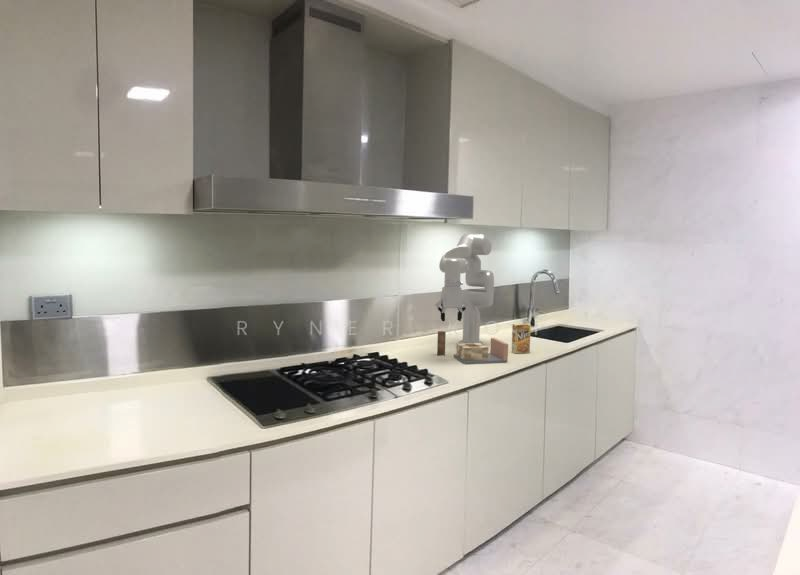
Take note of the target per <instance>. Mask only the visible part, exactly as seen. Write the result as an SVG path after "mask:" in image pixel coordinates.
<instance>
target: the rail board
mask: <svg viewBox="0 0 800 575" xmlns="http://www.w3.org/2000/svg"><path fill="white" fill-rule="evenodd" d="M508 356H509V344H508V343H507V342H504V341H503V340H501V339H498V338H495V337H490V352H488V360H469V361H464V360H463V359H461V358H460V357H458V356H457V355H456V353H455V354H453V358H455V359H456V360H458V361H459V362H461V363H462V364H463V365H478V364H479V365H480V364H482V365H483V364H504V363H505V364H507V363H508V359H509V358H508ZM506 362H507V363H506Z"/></svg>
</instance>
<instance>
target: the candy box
mask: <svg viewBox="0 0 800 575" xmlns="http://www.w3.org/2000/svg"><path fill="white" fill-rule="evenodd" d="M511 325H512V326H511V328H512V329H511V331H512V332H511V333H512V334H511V353H513V354H530V350H531V324H529V323H512V324H511Z"/></svg>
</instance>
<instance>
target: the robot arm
mask: <svg viewBox="0 0 800 575" xmlns="http://www.w3.org/2000/svg"><path fill="white" fill-rule="evenodd" d="M456 244H457V245H456V246H454V247H452V248H450V249H448V250H446V251H445V252H444V253H443V254H442V256H441V258H440V260H439V265H438V267H439V270H440V271H441V273H444V286H443V287H442V288H441V293H440V294H441V295H440V300H439V301H438V302H436V303H435V304H434V306H435V307H436V309H437V311H439V312H440V320H441V322H445V321H446V313H445V312H446V310H447V309H457V311H458V312H457V318H456V319H457V321H458V322H461V321H462V339H461V340H459V343H480V344H482V345H483V341H481V340H480V335H481V334H480V329H481V328H480V327H481V313H480V310H479V309H478V308H477V307H491V306H492V305H493V303H494V296H495V295H494V294H495V293H494V290H495V289H494V288H495V286H494V285H495V276H494V273H493V272H492V271H491V270H484V269H482V260H481V258H480V256H488V255H490V254H491V252H492V243H491V240H490V239H489V238H488V236H487V235H486V234H484V233H464V234H463V235H461V237H460V238H459V241H458V243H456ZM461 274H465V278H464V280H465V284H466V285H467V286H468V287H473V288H467V289H465V290H462V286H463V284H464V282H462V280H461ZM474 287H475V288H474ZM477 287H478V288H477ZM480 288H481V289H480ZM482 288H484V289H482Z"/></svg>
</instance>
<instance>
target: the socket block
mask: <svg viewBox="0 0 800 575" xmlns="http://www.w3.org/2000/svg"><path fill="white" fill-rule="evenodd" d="M455 347H456V350H455V351H456V353H455V354H456V355H457V356H458V357H460V358H461V359H463V360H464V361H469V360H488V353H489V347H488V346H486V345H484V344H483V343H482V344H480V343H460V342H459V343H457V342H456V346H455Z"/></svg>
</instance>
